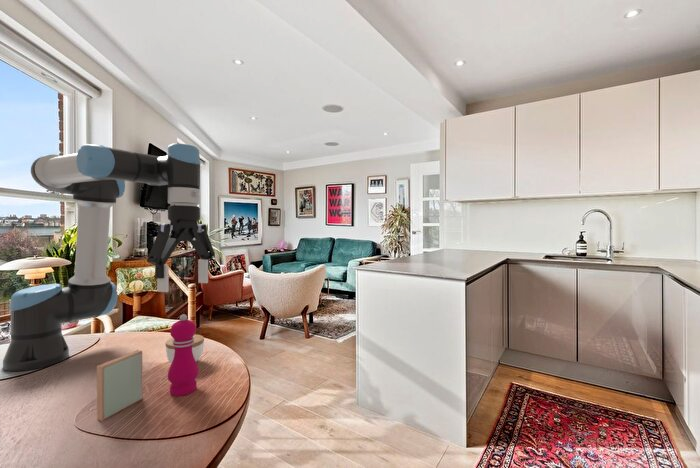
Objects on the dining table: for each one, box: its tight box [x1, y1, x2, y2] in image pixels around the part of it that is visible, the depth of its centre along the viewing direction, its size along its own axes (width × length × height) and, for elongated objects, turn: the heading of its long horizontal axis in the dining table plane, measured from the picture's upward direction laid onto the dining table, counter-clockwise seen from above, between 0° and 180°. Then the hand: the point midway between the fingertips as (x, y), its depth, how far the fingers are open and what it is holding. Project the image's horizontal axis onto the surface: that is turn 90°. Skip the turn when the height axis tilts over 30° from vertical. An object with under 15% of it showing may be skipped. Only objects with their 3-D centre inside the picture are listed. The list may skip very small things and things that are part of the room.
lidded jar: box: [165, 333, 205, 364], centre depth 104 cm, size 11×11×9 cm
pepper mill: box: [167, 313, 200, 397], centre depth 88 cm, size 7×7×20 cm
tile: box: [96, 349, 143, 422], centre depth 79 cm, size 2×10×12 cm, turn 163°
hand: (184, 287), depth 88 cm, fingers open, 13 cm apart
